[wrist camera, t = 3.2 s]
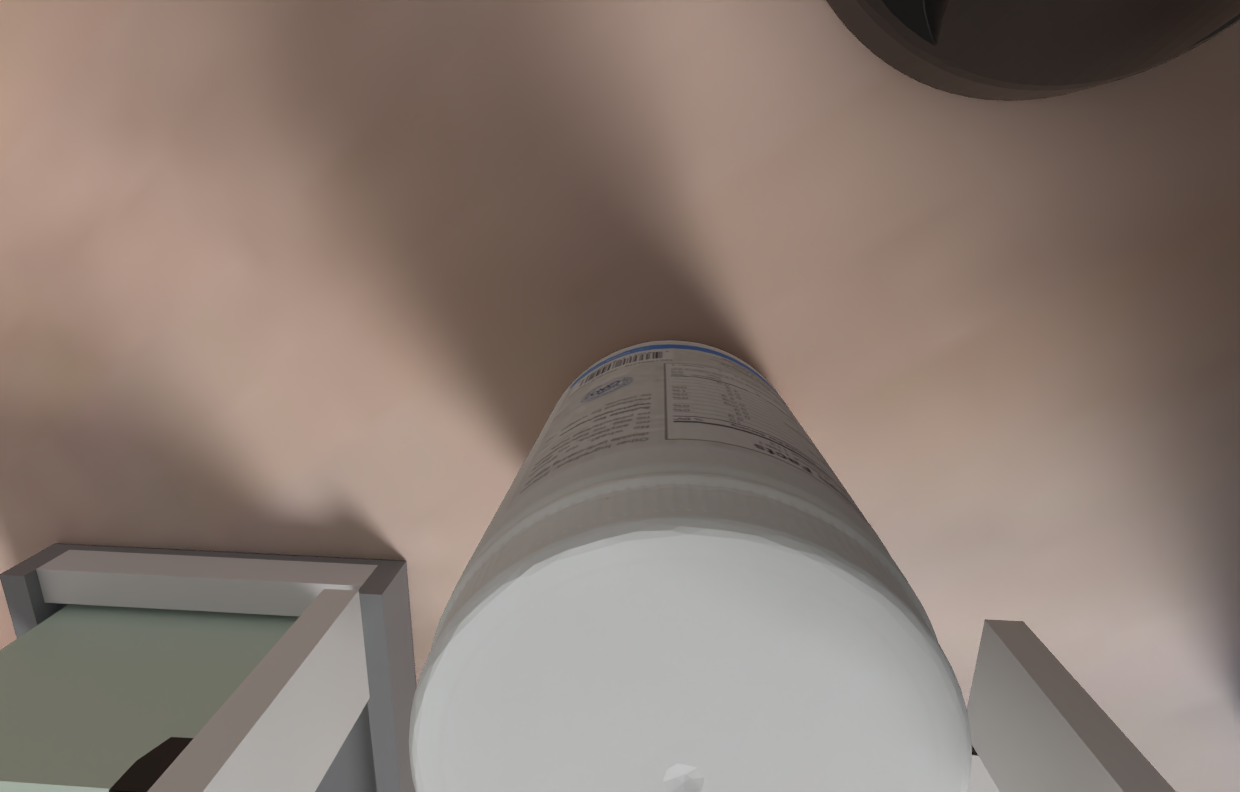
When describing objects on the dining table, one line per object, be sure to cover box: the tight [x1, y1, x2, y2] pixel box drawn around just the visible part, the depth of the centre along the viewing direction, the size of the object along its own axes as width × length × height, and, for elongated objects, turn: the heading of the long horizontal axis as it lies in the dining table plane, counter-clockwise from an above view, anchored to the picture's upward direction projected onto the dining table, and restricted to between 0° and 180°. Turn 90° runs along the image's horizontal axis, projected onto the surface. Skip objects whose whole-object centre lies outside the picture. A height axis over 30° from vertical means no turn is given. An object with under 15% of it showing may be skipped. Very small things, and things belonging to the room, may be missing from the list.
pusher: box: [0, 604, 300, 792], centre depth 23 cm, size 2×12×9 cm, turn 89°
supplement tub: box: [409, 340, 972, 792], centre depth 18 cm, size 10×10×15 cm
